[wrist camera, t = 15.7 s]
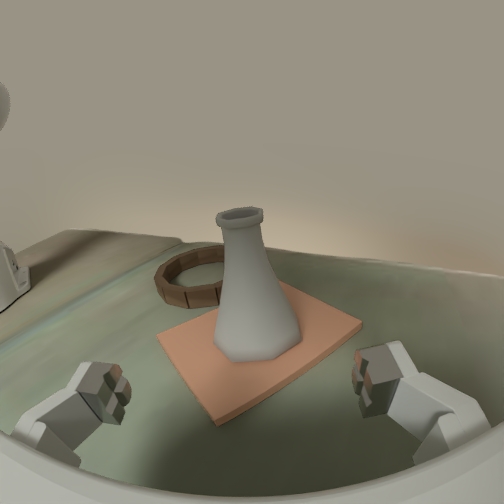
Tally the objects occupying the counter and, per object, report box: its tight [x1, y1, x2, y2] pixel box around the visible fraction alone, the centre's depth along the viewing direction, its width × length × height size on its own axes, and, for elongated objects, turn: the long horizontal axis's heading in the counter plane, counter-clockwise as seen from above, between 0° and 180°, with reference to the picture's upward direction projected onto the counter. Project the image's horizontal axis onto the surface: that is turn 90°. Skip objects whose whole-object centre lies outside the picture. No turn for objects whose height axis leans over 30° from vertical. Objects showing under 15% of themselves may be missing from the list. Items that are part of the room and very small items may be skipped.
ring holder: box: [154, 245, 225, 309], centre depth 33 cm, size 12×12×2 cm
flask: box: [213, 207, 302, 362], centre depth 20 cm, size 7×7×10 cm
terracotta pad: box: [156, 280, 362, 427], centre depth 22 cm, size 11×14×1 cm
